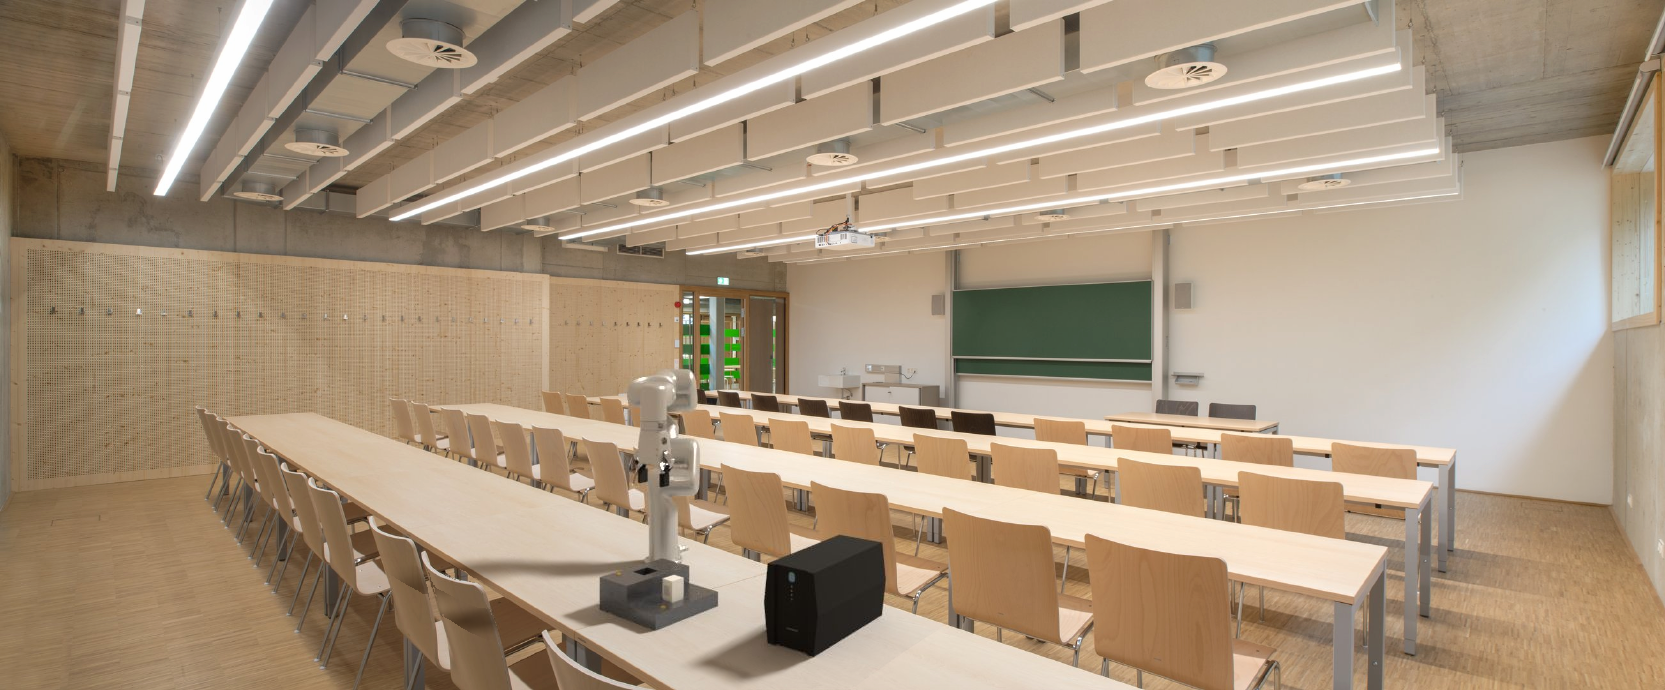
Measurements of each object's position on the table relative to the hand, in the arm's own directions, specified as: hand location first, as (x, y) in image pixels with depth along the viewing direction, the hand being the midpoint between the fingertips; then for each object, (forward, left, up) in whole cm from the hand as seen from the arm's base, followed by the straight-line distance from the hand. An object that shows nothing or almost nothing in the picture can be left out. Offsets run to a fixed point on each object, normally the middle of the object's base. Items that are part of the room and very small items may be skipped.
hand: (653, 484), depth 215 cm
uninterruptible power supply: (-12, +56, -33) cm, 66 cm away
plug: (+6, +16, -31) cm, 35 cm away
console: (+6, +10, -32) cm, 34 cm away
